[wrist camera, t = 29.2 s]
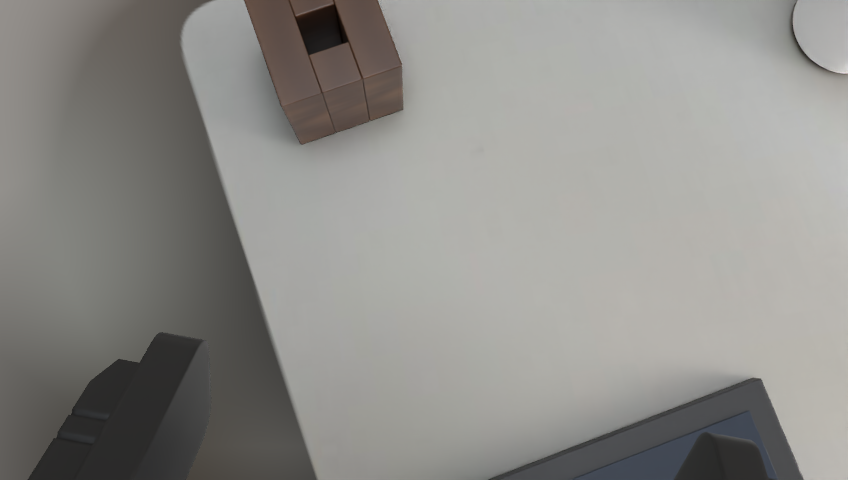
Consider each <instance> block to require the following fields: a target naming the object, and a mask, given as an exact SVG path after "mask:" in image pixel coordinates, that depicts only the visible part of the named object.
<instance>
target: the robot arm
mask: <svg viewBox="0 0 848 480" xmlns="http://www.w3.org/2000/svg"><path fill="white" fill-rule="evenodd" d="M210 410H211V383H210V358H209V345H208V342H207V341H206V340H202V339H195V338H190V337H185V336H179V335H174V334H168V333H163V332H162V333H158V334H157V335H156V337H155V338H154V339H153V341H152V342H151V344H150V346H149V347H148V349H147V351H146V353H145V354H144V356H143V358H142V360H141V361H140V363H137V362H132V361H127V360H121V359H118V360H117V361H115V362H114V363H113V364H112V365H110V366H109V367H108V368H106V369H105V370H104V371H103V372H101V373H100V374H99V375H97V376H96V377H95V378H94V379H92V380H91V381H90V382H89V384H88V385H87V387H86V388H85V390H84V392H83V393H82V395H81V396H80V398H79V400H78V401H77V403H76V404H75V406H74V407H73V409H72V414H71V415H68V417H67V418H66V420H65V422H64V423H63V425H62V426H61V428H60V430H59V431H58V435H57V438H56V439H55V438H54V439H53V441H52V442H51V444H50V445H49V447H48V449H47V450H46V452H45V453H44V455H43V456H42V458H41V460H40V461H39V463H38V465H37V466H36V468H35V470H34V471H33V472H32V474H31V475H30V477H29V479H28V480H186V478H187V476H188V474H189V471H190V469H191V467H192V464H193V462H194V460H195V457H196V455H197V453H198V450H199V448H200V446H201V443H202V441H203V439H204V436H205V433H206V429H207V425H208V422H209V417H210ZM674 480H777V479H772V478H768V475H767V472H766V468H765V465H764V462H763V459H762V456H761V453H760V450H759V448H758V446H757V445H756V444H755V442H753V441H752V440H747V439H742V438H736V437H731V436H725V435H719V434H714V433H708V432H703V433H702V434H700V436H699V437H698V438H697V440H696V442H695V443H694V445H693V447H692V448H691V450H690V452H689V454H688V455H687V457H686V459H685V461H684V462H683V464H682V466H681V468H680V469H679V471H678V473H677V474H676V476H675V478H674Z"/></svg>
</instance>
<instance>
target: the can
mask: <svg viewBox="0 0 848 480" xmlns="http://www.w3.org/2000/svg"><path fill="white" fill-rule="evenodd" d="M793 29H794V33H795V37H796V39H797V41H798V43H799V45H800V47H801V48H802V50H803V51H804V52H805V54H806V55H807V56H808V57H809V58H810V59H811V60H812V61H814V62H815V63H816V64H818V65H820V66H821V67H823V68H825V69H827V70H830V71H833V72H836V73H846V74H847V73H848V0H798V1H797V3H796V5H795V8H794V12H793Z"/></svg>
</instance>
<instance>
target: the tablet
mask: <svg viewBox="0 0 848 480" xmlns="http://www.w3.org/2000/svg"><path fill="white" fill-rule="evenodd" d="M703 432H708V433H714V434H719V435H725V436H731V437H736V438H742V439H747V440H752V441H753V442H755V444H756V445H757V446H758V448H759V450H760V453H761V456H762V459H763V462H764V465H765V468H766V472H767V475H768V478H772V479H777V480H804V479H803V477H802V474H801V472H800V470H799V467H798V465H797V463H796V460H795V458H794V455H793V453H792V451H791V448H790V446H789V444H788V441H787V439H786V437H785V434H784V432H783V430H782V427H781V425H780V422H779V420H778V418H777V415H776V413H775V411H774V408H773V406H772V404H771V401H770V399H769V397H768V394H767V392H766V389H765V387H764V385H763V382H762V380H761V379H759V378H752V379H749V380H746V381H744V382H741V383H739V384H736V385H733V386H731V387H728V388H726V389H723V390H720V391H718V392H715V393H713V394H710V395H707V396H705V397H702V398H700V399H697V400H694V401H692V402H689V403H687V404H684V405H681V406H679V407H676V408H674V409H671V410H668V411H666V412H663V413H661V414H658V415H655V416H653V417H650V418H648V419H645V420H642V421H640V422H637V423H635V424H632V425H629V426H627V427H624V428H622V429H619V430H616V431H614V432H611V433H609V434H606V435H603V436H601V437H598V438H596V439H593V440H590V441H588V442H585V443H583V444H580V445H577V446H575V447H572V448H570V449H567V450H564V451H562V452H559V453H557V454H554V455H551V456H549V457H546V458H544V459H541V460H538V461H536V462H533V463H531V464H528V465H525V466H523V467H520V468H518V469H515V470H512V471H510V472H507V473H505V474H502V475H499V476H497V477H494V478H492V479H489V480H674V478H675V476H676V474H677V473H678V471H679V469H680V468H681V466H682V464H683V462H684V461H685V459H686V457H687V455H688V454H689V452H690V450H691V448H692V447H693V445H694V443H695V442H696V440H697V438H698V437H699V436H700V434H702V433H703Z"/></svg>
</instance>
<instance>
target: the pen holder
mask: <svg viewBox="0 0 848 480" xmlns="http://www.w3.org/2000/svg"><path fill="white" fill-rule="evenodd" d="M244 1H245V4H246V7H247V10H248V13H249V15H250V18H251V21H252V24H253V27H254V30H255V33H256V35H257V38H258V41H259V44H260V47H261V50H262V53H263V55H264V58H265V61H266V64H267V67H268V70H269V73H270V75H271V78H272V81H273V84H274V87H275V90H276V93H277V95H278V98H279V101H280V104H281V107H282V109H283V111H284V112H285V114H286V116H287V118H288V120H289V122H290V124H291V126H292V128H293V130H294V132H295V134H296V136H297V138H298V139H299V141H300V143H301V144H305V143H308V142H310V141H313V140H316V139H319V138H322V137H325V136H328V135H331V134H334V133H335V132H339V131H342V130H345V129H348V128H351V127H354V126H357V125H360V124H363V123H365V122H368V121H369V120H374V119H377V118H380V117H383V116H385V115H388V114H391V113H394V112H397V111H400V110H403V83H402V63H401V61H400V58H399V55H398V53H397V50H396V48H395V45H394V42H393V40H392V37H391V34H390V32H389V29H388V26H387V24H386V21H385V18H384V16H383V13H382V10H381V8H380V5H379V3H378V0H244Z"/></svg>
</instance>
